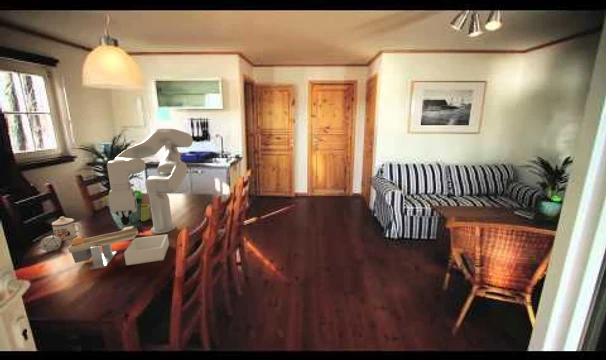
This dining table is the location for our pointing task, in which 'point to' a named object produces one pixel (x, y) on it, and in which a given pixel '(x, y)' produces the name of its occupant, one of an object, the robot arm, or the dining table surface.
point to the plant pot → (144, 212)
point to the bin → (146, 249)
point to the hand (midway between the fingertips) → (126, 224)
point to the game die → (50, 243)
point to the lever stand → (101, 256)
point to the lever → (100, 243)
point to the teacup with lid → (65, 228)
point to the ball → (77, 241)
